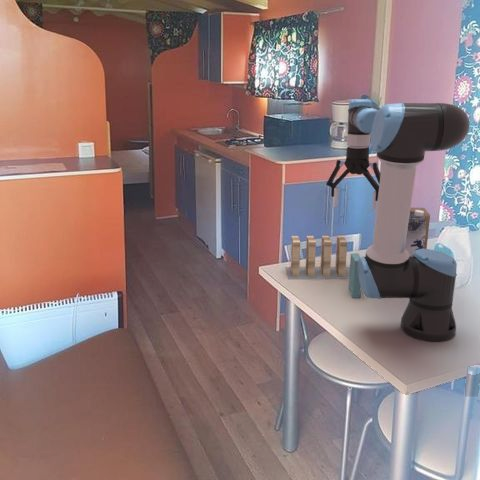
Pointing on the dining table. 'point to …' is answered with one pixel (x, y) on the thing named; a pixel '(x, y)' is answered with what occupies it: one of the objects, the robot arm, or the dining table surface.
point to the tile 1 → (295, 256)
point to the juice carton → (415, 232)
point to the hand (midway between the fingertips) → (354, 208)
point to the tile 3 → (325, 255)
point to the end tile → (354, 276)
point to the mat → (317, 274)
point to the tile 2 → (310, 256)
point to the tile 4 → (341, 256)
